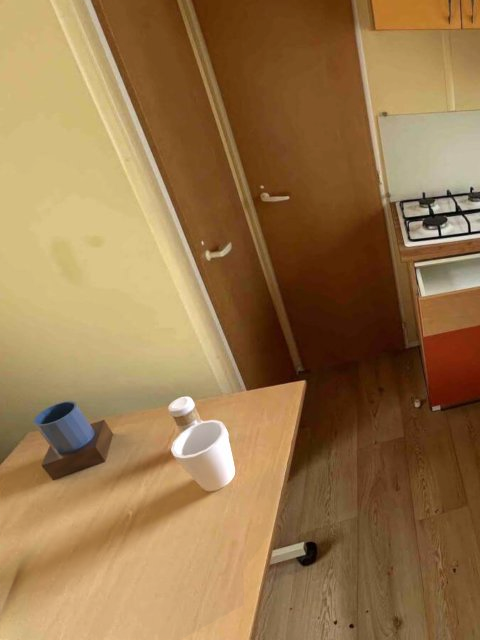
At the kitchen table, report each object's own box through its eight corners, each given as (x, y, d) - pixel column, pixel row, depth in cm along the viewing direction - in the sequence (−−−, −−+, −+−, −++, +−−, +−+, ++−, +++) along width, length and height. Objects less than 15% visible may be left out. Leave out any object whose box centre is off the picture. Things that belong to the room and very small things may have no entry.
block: (52, 480, 93) (41, 465, 91) (64, 450, 100) (53, 435, 98) (105, 461, 97) (95, 446, 95) (113, 433, 104) (104, 419, 102)
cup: (50, 458, 92) (28, 430, 88) (59, 436, 97) (39, 408, 93) (90, 445, 95) (71, 417, 91) (97, 424, 101) (79, 396, 96)
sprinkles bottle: (214, 434, 104) (195, 394, 98) (206, 449, 100) (186, 409, 94) (193, 437, 103) (173, 397, 97) (184, 453, 99) (163, 412, 93)
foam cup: (182, 492, 91) (159, 452, 85) (218, 455, 99) (199, 416, 93) (218, 502, 89) (197, 462, 83) (252, 464, 97) (235, 424, 91)
